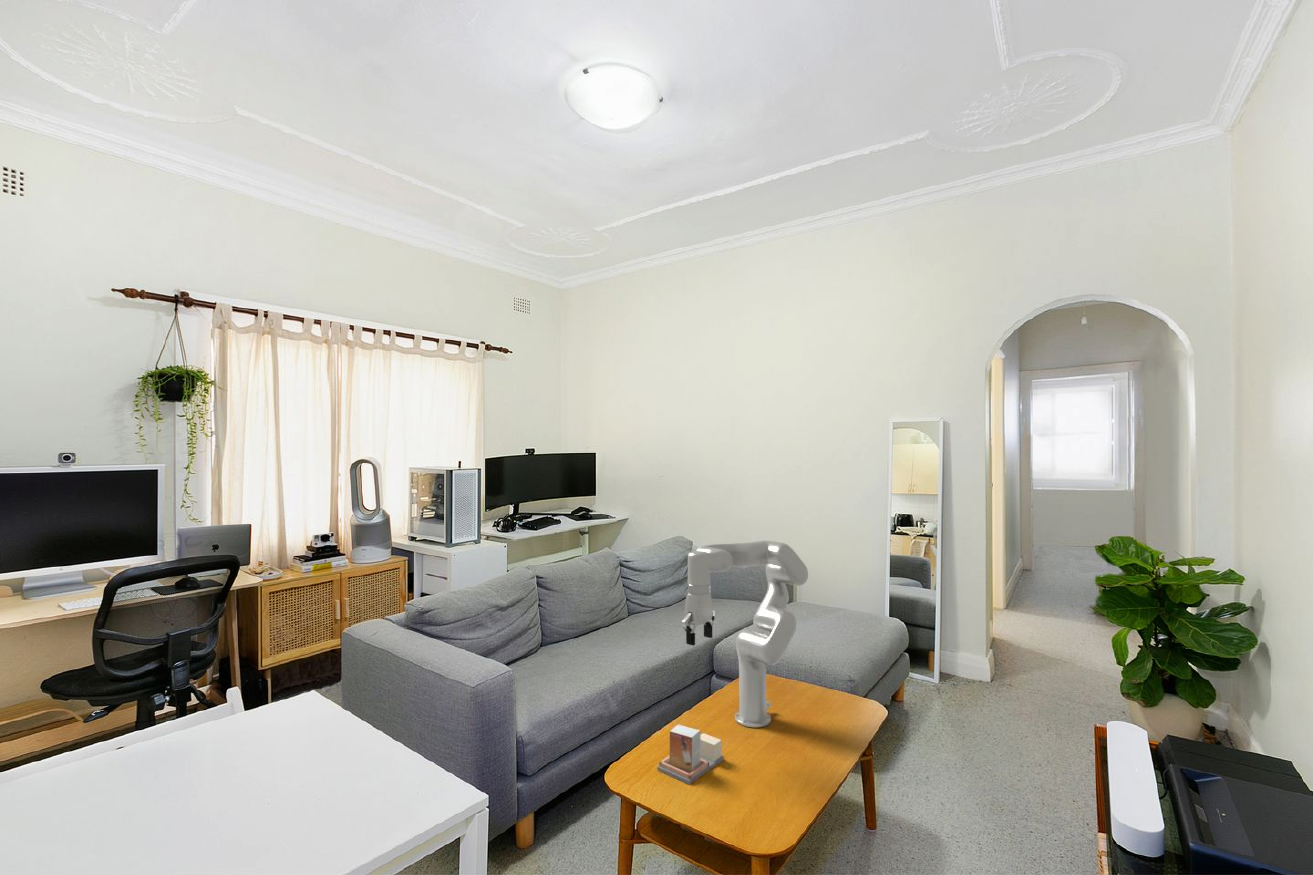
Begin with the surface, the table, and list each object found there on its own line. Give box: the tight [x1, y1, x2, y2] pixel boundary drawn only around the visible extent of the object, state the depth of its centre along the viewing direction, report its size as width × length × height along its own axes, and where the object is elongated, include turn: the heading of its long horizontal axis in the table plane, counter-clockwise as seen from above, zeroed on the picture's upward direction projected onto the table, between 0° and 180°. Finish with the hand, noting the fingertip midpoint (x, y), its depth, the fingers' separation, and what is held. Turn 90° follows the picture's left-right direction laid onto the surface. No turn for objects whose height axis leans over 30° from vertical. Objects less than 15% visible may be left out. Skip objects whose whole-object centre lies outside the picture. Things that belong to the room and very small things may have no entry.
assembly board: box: [657, 733, 725, 785], centre depth 181 cm, size 18×12×6 cm, turn 140°
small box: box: [668, 724, 702, 772], centre depth 179 cm, size 8×6×10 cm
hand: (699, 640), depth 196 cm, fingers open, 9 cm apart
